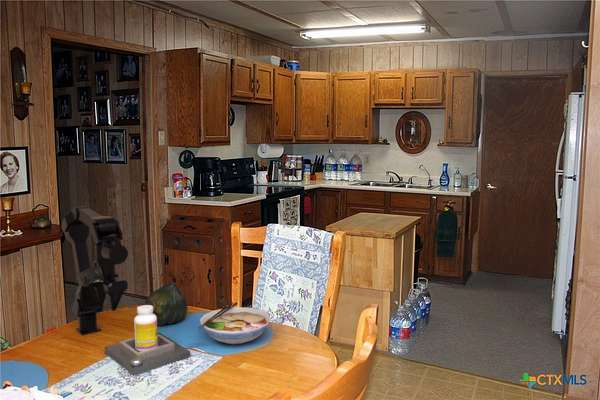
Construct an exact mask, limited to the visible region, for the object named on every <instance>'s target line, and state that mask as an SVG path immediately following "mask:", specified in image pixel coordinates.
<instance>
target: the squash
mask: <svg viewBox="0 0 600 400" xmlns="http://www.w3.org/2000/svg"><path fill="white" fill-rule="evenodd" d="M144 305H151V306H153V314H155V315H156V317H157V326H161V327H162V326H165V325H166V324H169V325H171V324H175V323H179V322H182V321H183V320H184V319H185V318H186V317H187V314H188V309H189V308H188V301H187V297H186V296H185V294H184V293H183V292H182V290H180V287H179V286H178V285H177V284H176V283H175V282H169V283H166V284H164V285H162V286H161V287H159V288H157V289H156V290H154V291H153V292H151V293H150V294H149V295H148V296H147V298H146V301H145V302H144Z"/></svg>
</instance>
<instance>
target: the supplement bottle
mask: <svg viewBox="0 0 600 400" xmlns="http://www.w3.org/2000/svg"><path fill="white" fill-rule="evenodd" d="M136 313H137V315H136V316H135V317H134V318H133V323H134V324H133V325H134V338H135V349H136V350H137V351H139V352H141V351H145V350H148V349H152V348H155V347H158V334H157V333H158V325H157V317H156V315H155V314H153V306H151V305H145V304H144V305H139V306H138V307H137V308H136Z"/></svg>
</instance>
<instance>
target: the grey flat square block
mask: <svg viewBox="0 0 600 400" xmlns="http://www.w3.org/2000/svg"><path fill="white" fill-rule="evenodd" d="M157 334H158V347H155V348H152V349H148V350H145V351H141V352H139V351H137V350H136V349H135V337H133V338H129V339H126V340H121V341H119V342H117V343H115V344H110V345H107V346H104V354H105V355H107V356H108V357H109V358H110V359H112V360H113V361H114V362H115V363H117V364H118V365H119V366H120V367H122V368H123V369H124V370H126V371H127V372H128V373H129V374H131V375H132V376H137V375H139V374H142V373H145V372H148V371H149V372H150V371H152V370H155V369H158V367H159V368H161V366H162V367H164V365H165V366H168V365H171V364H174V363H177V362H176V361H178V362H180V360H181V361H183V359H184V360H186V358H187V359H190V358H191V350H189V349H187V348H186V347H185V346H183V345H181V344H179V343H177V342H176V341H174V340H173V339H171V338H169V337H167V336H166V335H164V334H163V333H161V332H158V331H157ZM189 357H190V358H189ZM173 362H174V363H173ZM170 363H171V364H170ZM167 364H168V365H167Z"/></svg>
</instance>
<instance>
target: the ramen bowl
mask: <svg viewBox="0 0 600 400" xmlns="http://www.w3.org/2000/svg"><path fill="white" fill-rule="evenodd" d="M237 305H238V302H233V301H230V302H229V303H228V304H227V305H225V306H224V307H223V308H221V309H219V308H218V309H216V310H212V311H210V312H207V313H204V315H202V317H201V318H200V319H199V320H200V324H201V325H200V326H199V327H198V329H199V330H200V329H203V330H204V331H205V332H206V334H207V335H209V337H211V338H213V339H214V340H215V341H217V342H220V343H225V344H228V345H241V344H244V343H247V342H250V341H253V340H255V339H256V338H258V337H259V336H261V335H262V334H263V333H264V331H265V330H266V328H267V327H268V325H269V324H270V321H271V319H272V318H271V316H270V314H269V313H268V312H266V311H264V310H262V309H259V308H258V309H257V308H254V307H241V306H238V307H236V306H237Z"/></svg>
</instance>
